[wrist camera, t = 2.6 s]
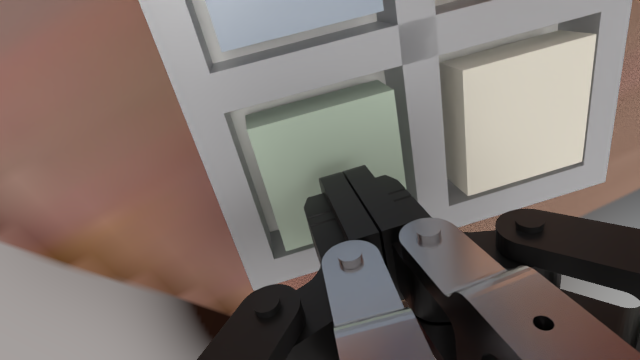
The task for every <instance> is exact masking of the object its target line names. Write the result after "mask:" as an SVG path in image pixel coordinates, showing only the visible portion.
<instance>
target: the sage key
mask: <svg viewBox="0 0 640 360" xmlns="http://www.w3.org/2000/svg"><path fill="white" fill-rule="evenodd" d="M245 117H246V127H247V132H248V135H249V138H250V141H251V144H252V147H253V151H254V154H255V157H256V160H257V163H258V166H259V169H260V172H261V175H262V178H263V182H264V185H265V188H266V191H267V194H268V197H269V200H270V203H271V206H272V209H273V213H274V216H275V219H276V222H277V225H278V228H279V231H280V234H281V237H282V240H283V244H284V247H285V250H286V251H289V250H292V249H296V248H299V247H302V246H306V245H309V244H312V243H313V240H312V237H311V233H310V229H309V226H308V222H307V218H306V215H305V211H304V205H305V203H306V200H307V198H308V197H311V196H315V195H318V194H322V192H321V188H320V184H319V178H321V177H324V176H328V175H331V174H335V173H338V172H342V171H345V170H348V169H352V168H355V167H359V166H362V165H366V167H367V168H368V169H369V170H370V172H371V173H372V174H373V175H374V177H375V178H376V177H379V176H383V175H387V176H390V177H392V178H394V179H397V180H398V181H399V182H400V183H401V184H402V185H403V186H404V187H405V189H406V181H405V173H404V165H403V157H402V149H401V141H400V133H399V126H398V118H397V110H396V102H395V94H394V89H392V88H390V87H389V86H387V85H385V84H384V83H382V82H380V81H379V80H374V81H370V82H366V83H363V84H359V85H355V86H352V87H348V88H344V89H340V90H337V91H333V92H329V93H326V94H322V95H318V96H315V97H311V98H307V99H304V100H300V101H296V102H293V103H289V104H285V105H281V106H278V107H274V108H270V109H267V110H263V111H259V112H256V113H252V114H248V115H245ZM406 190H407V189H406Z"/></svg>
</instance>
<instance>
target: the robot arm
mask: <svg viewBox="0 0 640 360" xmlns="http://www.w3.org/2000/svg"><path fill="white" fill-rule="evenodd" d="M319 184H320V188H321V192H322V194H318V195H315V196H311V197H308V198H307V200H306V203H305V205H304V211H305V215H306V218H307V222H308V226H309V229H310V233H311V237H312V240H313V244H314V247H315V250H316V253H317V257H318V260H319V263H320V269H319V271H318V273H317V274H316V276H315V277H314V278H313V279H312V280H311V281H310V282H308V283H307V284H305V285H304V286H302V287H301V288H299V289H297V290H295V289H293V288H292V287H290V286H287V285H283V284H273V285H268V286H264V287H262V288H260V289H258V290H256V291H254V292H253V293H251V294H250V295H249V296H247V297H246V298H245V299H244V301H243V302H242V303H241V304H240V306H239V307H238V308H237V309H236V311H235V312H234V313H233V314H232V316H231V317H230V319H229V320H228V321H227V322H226V323H225V325H224V326H223V327H222V328H221V330H220V331H219V332H218V334H217V335H216V336H215V337H214V339H213V340H212V341H211V342H210V344H209V345H208V346H207V348H206V349H205V350H204V351H203V353H202V354H201V355H200V356H199V358H198V359H197V360H435V359H436V360H640V306H639V307H637V308H624V307H620V306H616V305H613V304H609V303H606V302H603V301H599V300H596V299H593V298H589V297H586V296H583V295H579V294H575V293H573V292H569V291H566V290H562V289H560V283H561V274H562V275H566V276H570V277H574V278H577V279H580V280H584V281H588V282H591V283H595V284H599V285H603V286H606V287H610V288H613V289H617V290H620V291H624V292H627V293H630V294H632V295H633V296H635V297H636V298H638V299H639V300H640V229H637V228H631V227H625V226H621V225H615V224H610V223H605V222H600V221H594V220H589V219H584V218H578V217H573V216H568V215H563V214H557V213H552V212H547V211H541V210H535V209H516V210H512V211H508V212H506V213H504V214H502V215H501V216H500V217H499V218H498V219H497V221H496V230H494V231H482V232H462V231H461V230H460V229H458V228H457V227H456V226H455V225H454V224H452V223H451V222H449V221H447V220H444V219H440V218H432V217H431V216H430V215H429V214H428V213H427V212H426V211H425V209H424V208H423V207H422V206H421V205H420V204H419V203H418V202H417V201H416V199H415V198H414V197H412V196H411V194H410V193H409V192H408V191H407V190H406V189H405V187H404V186H403V185H402V184H401V183H400V182H399V181H398V180H397V179H394V178H392V177H390V176H387V175H383V176H379V177H376V178H375V177H374V175H373V174H372V173H371V172H370V170H369V169H368V168H367V167H366V165H362V166H359V167H355V168H352V169H348V170H345V171H342V172H338V173H335V174H331V175H328V176H324V177H321V178H319ZM404 299H405V300H406V302H407V304H408V306H409V307H406V308H404V306H403V304H402V302H401V300H404ZM434 357H435V358H434Z"/></svg>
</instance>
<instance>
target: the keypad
mask: <svg viewBox="0 0 640 360" xmlns="http://www.w3.org/2000/svg"><path fill="white" fill-rule="evenodd" d="M139 3H140V5H141V8H142V10H143V13H144V16H145V18H146V21H147V23H148V26H149V28H150V31H151V33H152V36H153V38H154V41H155V43H156V46H157V48H158V51H159V53H160V56H161V58H162V61H163V63H164V66H165V69H166V71H167V74H168V76H169V79H170V81H171V84H172V86H173V89H174V91H175V94H176V96H177V99H178V101H179V104H180V106H181V109H182V111H183V114H184V117H185V119H186V122H187V124H188V127H189V129H190V132H191V134H192V137H193V139H194V142H195V144H196V147H197V149H198V152H199V154H200V157H201V159H202V162H203V164H204V167H205V170H206V172H207V175H208V177H209V180H210V182H211V185H212V187H213V190H214V192H215V195H216V197H217V200H218V202H219V205H220V207H221V210H222V212H223V215H224V218H225V220H226V223H227V225H228V228H229V230H230V233H231V235H232V238H233V240H234V243H235V245H236V248H237V250H238V253H239V255H240V258H241V260H242V263H243V265H244V268H245V271H246V273H247V276H248V278H249V281H250V283H251V286H252V288H253V291H254V290H258V289H260V288H262V287H264V286H268V285H273V284H277V283H280V282H284V281H287V280H290V279H293V278H296V277H300V276H303V275H306V274H309V273H313V272H316V271H319V269H320V263H319V260H318V257H317V253H316V250H315V247H314V244H313V243H312V244H309V245H306V246H302V247H299V248H296V249H292V250H289V251H286V250H285V247H284V244H283V240H282V237H281V234H280V231H279V228H278V225H277V222H276V219H275V216H274V213H273V209H272V206H271V203H270V200H269V197H268V194H267V191H266V188H265V185H264V182H263V178H262V175H261V172H260V169H259V166H258V163H257V160H256V157H255V154H254V151H253V147H252V144H251V141H250V138H249V135H248V132H247V127H246V117H245V115H248V114H252V113H256V112H259V111H263V110H267V109H270V108H274V107H278V106H281V105H285V104H289V103H293V102H296V101H300V100H304V99H307V98H311V97H315V96H318V95H322V94H326V93H329V92H333V91H337V90H340V89H344V88H348V87H352V86H355V85H359V84H363V83H366V82H370V81H374V80H379V81H380V82H382V83H384V84H385V85H387V86H389V87H390V88H392V89H394V94H395V102H396V110H397V118H398V126H399V133H400V141H401V149H402V157H403V165H404V173H405V181H406V189H407V191H408V192H409V193H410V194H411V196H412V197H414V198H415V199H416V201H417V202H418V203H419V204H420V205H421V206H422V207H423V208H424V209H425V211H426V212H427V213H428V214H429V215H430V216H431V217H432V218H440V219H444V220H447V221H449V222H451V223H452V224H454V225H455V226H456V227H457V228H458V227H461V226H464V225H468V224H471V223H474V222H477V221H481V220H484V219H487V218H490V217H493V216H497V215H500V214H503V213H506V212H508V211H512V210H516V209H519V208H523V207H526V206H529V205H532V204H535V203H539V202H542V201H545V200H548V199H552V198H555V197H558V196H561V195H564V194H568V193H571V192H574V191H577V190H581V189H584V188H587V187H590V186H594V185H597V184H600V183H603V182H605V181H606V174H607V167H608V161H609V154H610V147H611V140H612V134H613V127H614V120H615V113H616V107H617V100H618V93H619V86H620V80H621V73H622V66H623V59H624V53H625V46H626V39H627V33H628V26H629V19H630V12H631V6H632V0H383V7H384V11H381V12H377V13H374V14H370V15H366V16H362V17H358V18H354V19H350V20H346V21H342V22H338V23H335V24H331V25H327V26H323V27H319V28H315V29H311V30H307V31H303V32H299V33H296V34H292V35H288V36H284V37H280V38H276V39H272V40H268V41H264V42H260V43H257V44H253V45H249V46H245V47H241V48H237V49H233V50H229V51H225V52H222V51H221V48H220V45H219V42H218V39H217V36H216V33H215V30H214V27H213V24H212V20H211V17H210V14H209V11H208V8H207V5H206V2H205V0H139ZM558 30H565V31H574V32H583V33H592V34H596V43H595V52H594V61H593V70H592V79H591V87H590V96H589V105H588V114H587V123H586V132H585V141H584V149H583V158H582V162H579V163H576V164H573V165H569V166H566V167H563V168H559V169H556V170H553V171H550V172H546V173H543V174H540V175H536V176H533V177H530V178H527V179H523V180H520V181H517V182H513V183H510V184H507V185H503V186H500V187H497V188H494V189H490V190H487V191H484V192H480V193H477V194H474V195H470V196H467V195H466V194H465V193H464V192H462V191H461V190H460V189H459V188H458V187H457V186H455V185H454V184H453V183H452V182H451V181H450V180H448V179H447V170H446V156H445V142H444V127H443V113H442V99H441V84H440V70H439V63H440V62H444V61H447V60H451V59H455V58H458V57H462V56H466V55H469V54H473V53H477V52H481V51H484V50H488V49H492V48H495V47H499V46H503V45H506V44H510V43H514V42H517V41H521V40H525V39H528V38H532V37H536V36H540V35H543V34H547V33H551V32H554V31H558Z"/></svg>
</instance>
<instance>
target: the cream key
mask: <svg viewBox="0 0 640 360" xmlns="http://www.w3.org/2000/svg"><path fill="white" fill-rule="evenodd" d="M595 43H596V34H592V33H583V32H574V31H565V30H558V31H554V32H551V33H547V34H543V35H540V36H536V37H532V38H528V39H525V40H521V41H517V42H514V43H510V44H506V45H503V46H499V47H495V48H492V49H488V50H484V51H481V52H477V53H473V54H469V55H466V56H462V57H458V58H455V59H451V60H447V61H444V62H440V63H439V70H440V84H441V99H442V113H443V127H444V142H445V156H446V170H447V179H448V180H450V181H451V182H452V183H453V184H454V185H455V186H457V187H458V188H459V189H460V190H461V191H462V192H464V193H465V194H466V195H467V196H470V195H474V194H477V193H480V192H484V191H487V190H490V189H494V188H497V187H500V186H503V185H507V184H510V183H513V182H517V181H520V180H523V179H527V178H530V177H533V176H536V175H540V174H543V173H546V172H550V171H553V170H556V169H559V168H563V167H566V166H569V165H573V164H576V163H579V162H582V158H583V149H584V141H585V132H586V123H587V114H588V105H589V96H590V87H591V79H592V70H593V61H594V52H595Z"/></svg>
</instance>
